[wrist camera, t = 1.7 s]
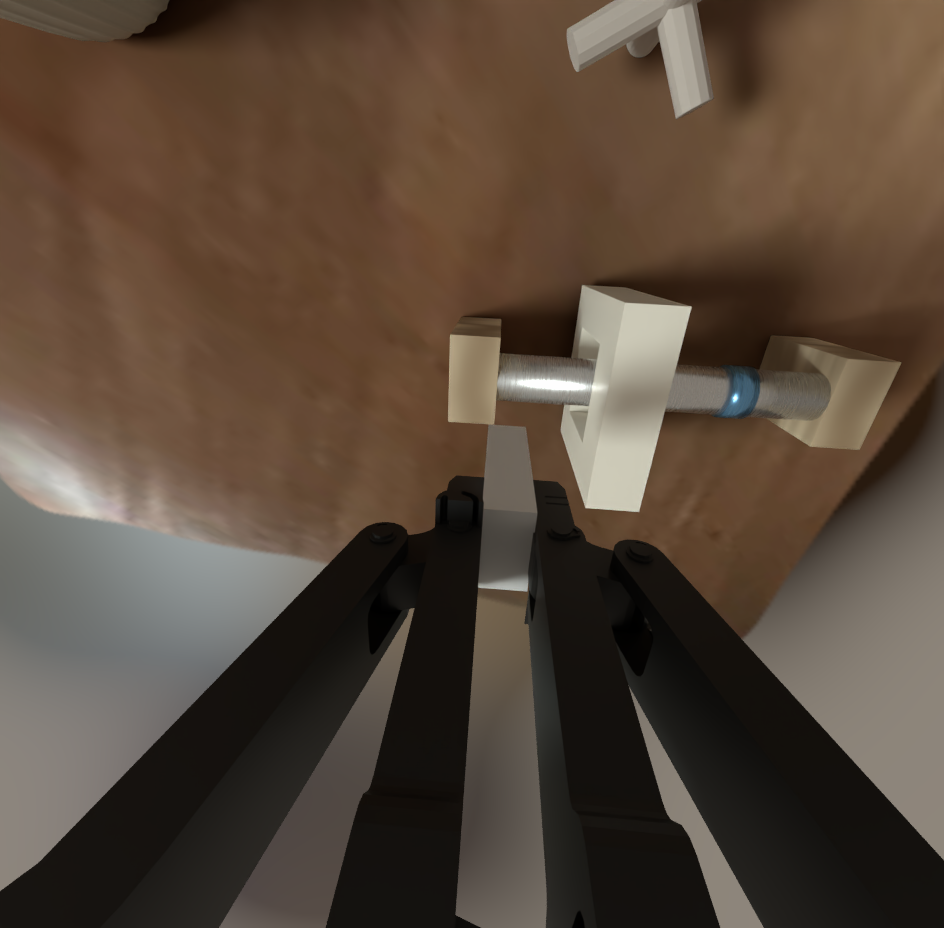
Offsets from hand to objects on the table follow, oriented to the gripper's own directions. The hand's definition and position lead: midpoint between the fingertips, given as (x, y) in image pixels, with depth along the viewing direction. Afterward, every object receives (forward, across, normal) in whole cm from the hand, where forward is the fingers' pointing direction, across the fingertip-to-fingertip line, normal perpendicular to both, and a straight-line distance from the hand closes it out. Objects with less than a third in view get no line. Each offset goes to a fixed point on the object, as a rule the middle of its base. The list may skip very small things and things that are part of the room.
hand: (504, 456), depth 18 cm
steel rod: (+13, +10, 0) cm, 16 cm away
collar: (+17, +7, 0) cm, 18 cm away
